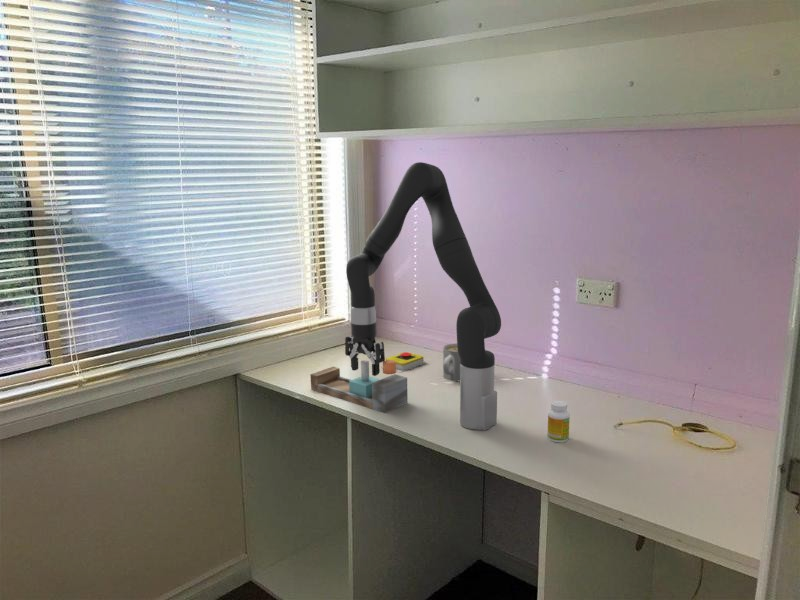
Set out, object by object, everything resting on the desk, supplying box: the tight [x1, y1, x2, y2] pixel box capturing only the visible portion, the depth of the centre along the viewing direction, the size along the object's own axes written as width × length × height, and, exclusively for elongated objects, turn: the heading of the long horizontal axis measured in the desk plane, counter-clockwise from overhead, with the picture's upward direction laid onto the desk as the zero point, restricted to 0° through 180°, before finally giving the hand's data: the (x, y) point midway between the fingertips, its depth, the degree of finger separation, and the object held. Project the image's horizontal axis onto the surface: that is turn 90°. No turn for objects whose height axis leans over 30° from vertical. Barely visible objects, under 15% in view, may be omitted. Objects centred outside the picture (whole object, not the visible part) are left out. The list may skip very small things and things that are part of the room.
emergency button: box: [380, 351, 427, 373], centre depth 234 cm, size 9×4×15 cm
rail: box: [309, 366, 409, 414], centre depth 204 cm, size 32×10×8 cm, turn 49°
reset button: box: [382, 360, 397, 375], centre depth 193 cm, size 4×4×3 cm
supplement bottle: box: [547, 400, 571, 443], centre depth 170 cm, size 5×5×10 cm
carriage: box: [349, 359, 382, 398], centre depth 201 cm, size 7×7×10 cm
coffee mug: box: [442, 342, 460, 381], centre depth 219 cm, size 13×10×10 cm
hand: (365, 372), depth 200 cm, fingers open, 8 cm apart
